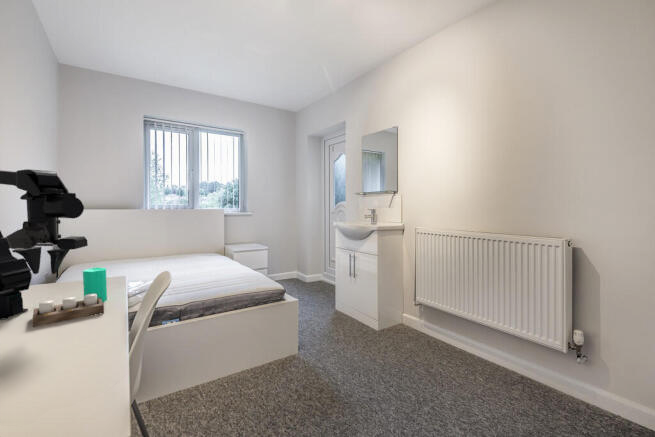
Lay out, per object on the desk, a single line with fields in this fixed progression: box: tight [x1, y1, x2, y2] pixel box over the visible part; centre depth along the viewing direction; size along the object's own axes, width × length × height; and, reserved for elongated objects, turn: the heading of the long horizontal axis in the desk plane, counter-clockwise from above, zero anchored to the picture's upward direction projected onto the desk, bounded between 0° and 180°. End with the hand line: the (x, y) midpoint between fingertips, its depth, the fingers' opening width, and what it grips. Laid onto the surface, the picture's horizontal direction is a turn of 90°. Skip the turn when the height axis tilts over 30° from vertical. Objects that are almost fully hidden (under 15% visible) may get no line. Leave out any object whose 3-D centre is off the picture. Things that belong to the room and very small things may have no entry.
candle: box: [82, 264, 108, 303], centre depth 98 cm, size 6×6×12 cm
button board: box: [32, 298, 105, 328], centre depth 86 cm, size 15×8×3 cm, turn 132°
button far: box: [83, 294, 97, 306], centre depth 89 cm, size 3×3×3 cm
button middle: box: [62, 296, 77, 310], centre depth 86 cm, size 3×3×3 cm
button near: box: [38, 300, 55, 314], centre depth 83 cm, size 3×3×3 cm
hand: (45, 273), depth 82 cm, fingers open, 4 cm apart
